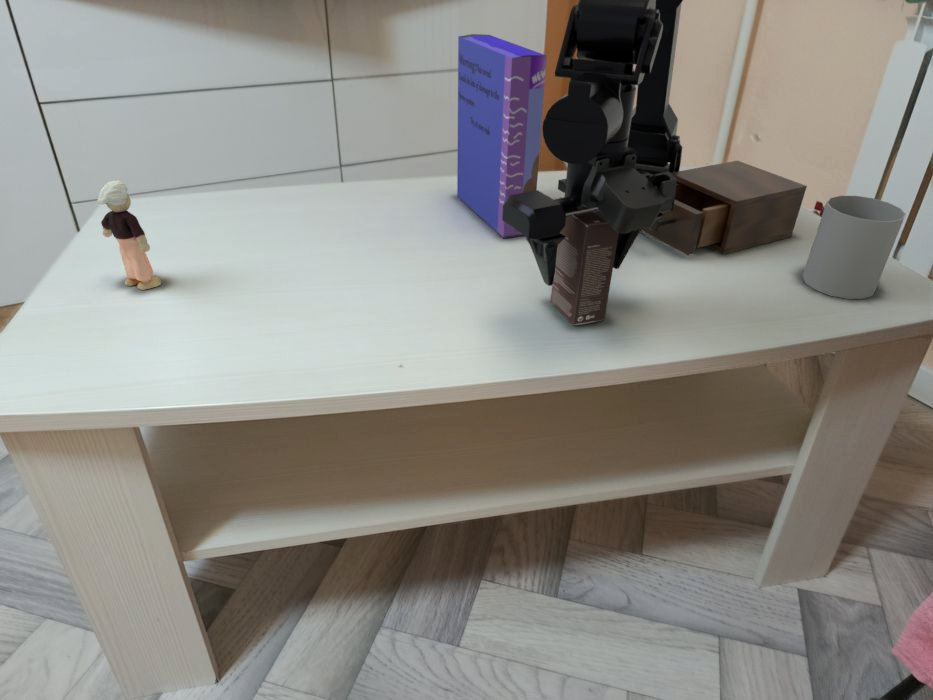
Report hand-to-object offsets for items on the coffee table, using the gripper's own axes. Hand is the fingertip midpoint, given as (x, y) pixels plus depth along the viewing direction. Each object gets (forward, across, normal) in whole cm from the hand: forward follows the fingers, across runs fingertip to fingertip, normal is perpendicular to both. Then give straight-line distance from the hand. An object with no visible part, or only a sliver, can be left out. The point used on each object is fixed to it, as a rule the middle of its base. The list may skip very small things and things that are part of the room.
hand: (582, 275), depth 75 cm
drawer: (+4, +25, +10) cm, 27 cm away
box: (+5, 0, 0) cm, 5 cm away
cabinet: (+5, +34, +10) cm, 36 cm away
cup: (+5, +34, -9) cm, 35 cm away
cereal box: (+5, +6, +30) cm, 31 cm away
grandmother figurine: (+5, -44, +30) cm, 53 cm away
